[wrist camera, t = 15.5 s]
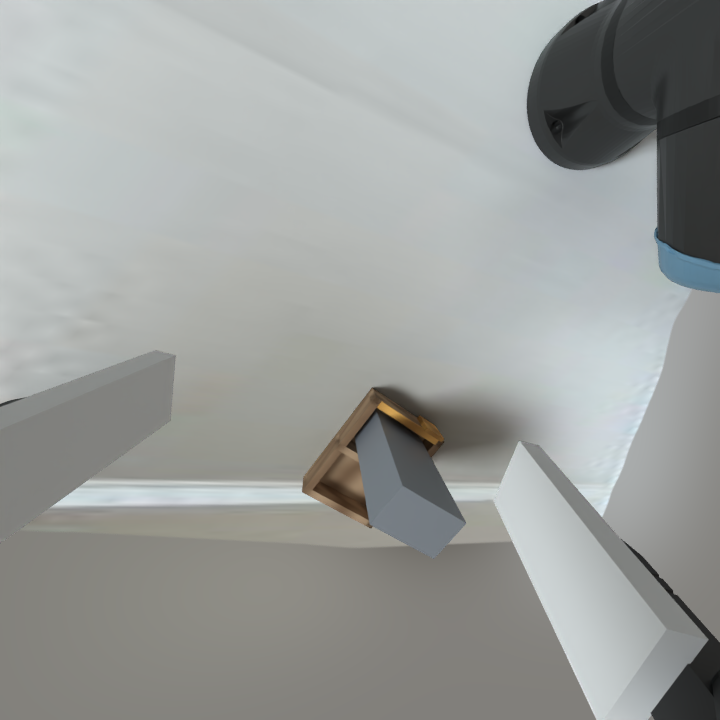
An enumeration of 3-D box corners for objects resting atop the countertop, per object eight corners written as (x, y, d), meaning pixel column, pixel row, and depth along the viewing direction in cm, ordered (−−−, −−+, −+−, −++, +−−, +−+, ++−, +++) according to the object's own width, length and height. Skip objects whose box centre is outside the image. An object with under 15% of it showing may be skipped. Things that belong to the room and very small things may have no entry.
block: (354, 434, 47) (369, 524, 31) (375, 407, 46) (402, 485, 30) (397, 460, 49) (433, 558, 33) (418, 435, 48) (466, 523, 32)
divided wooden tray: (303, 476, 49) (301, 496, 45) (374, 384, 46) (379, 396, 42) (368, 511, 52) (371, 533, 48) (438, 427, 49) (449, 442, 45)
